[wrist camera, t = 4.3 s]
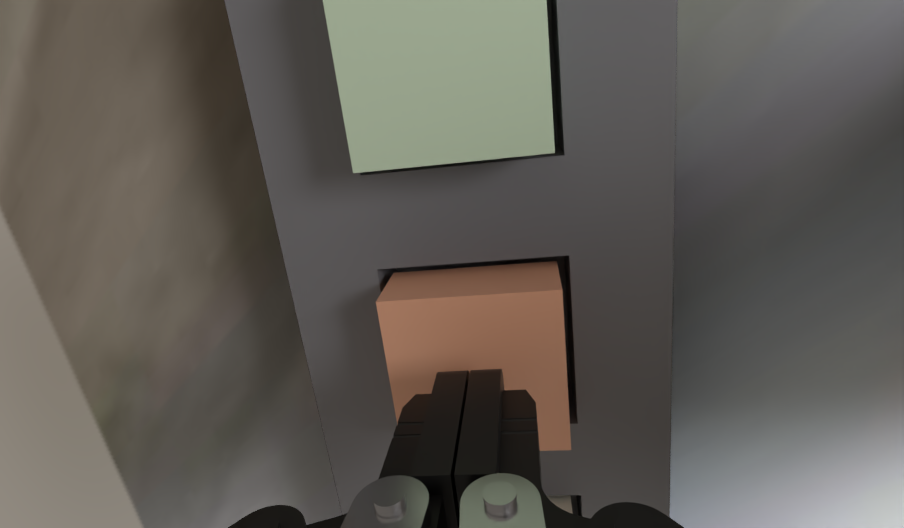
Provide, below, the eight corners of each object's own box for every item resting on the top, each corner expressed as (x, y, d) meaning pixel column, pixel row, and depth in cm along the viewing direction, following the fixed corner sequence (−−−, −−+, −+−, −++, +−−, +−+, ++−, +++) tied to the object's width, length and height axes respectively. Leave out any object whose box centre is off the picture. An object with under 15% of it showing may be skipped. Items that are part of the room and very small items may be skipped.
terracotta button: (393, 272, 15) (375, 302, 13) (556, 260, 14) (562, 289, 12) (415, 409, 16) (402, 453, 14) (564, 404, 16) (570, 450, 14)
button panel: (264, -55, 15) (205, -84, 12) (645, -119, 13) (679, -169, 11) (388, 562, 22) (369, 634, 19) (646, 564, 20) (667, 642, 18)
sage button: (343, -33, 12) (313, -51, 11) (537, -64, 12) (541, -89, 10) (375, 159, 14) (352, 173, 12) (550, 141, 13) (555, 153, 11)
